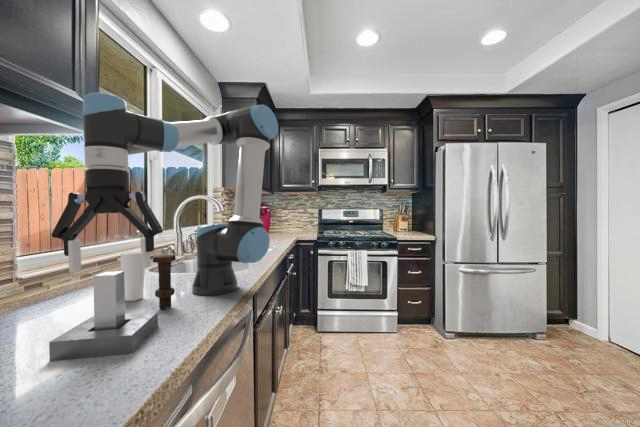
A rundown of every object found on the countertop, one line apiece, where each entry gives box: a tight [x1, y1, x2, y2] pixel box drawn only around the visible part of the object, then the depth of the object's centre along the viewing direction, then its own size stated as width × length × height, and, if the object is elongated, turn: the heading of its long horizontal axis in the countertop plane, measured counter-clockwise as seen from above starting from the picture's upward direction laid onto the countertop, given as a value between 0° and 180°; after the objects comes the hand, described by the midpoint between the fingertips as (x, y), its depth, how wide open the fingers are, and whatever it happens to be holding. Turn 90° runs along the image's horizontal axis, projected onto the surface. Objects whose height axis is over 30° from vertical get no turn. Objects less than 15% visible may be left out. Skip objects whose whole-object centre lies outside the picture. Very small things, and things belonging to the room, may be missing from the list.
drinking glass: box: [120, 250, 146, 302], centre depth 95 cm, size 7×7×15 cm
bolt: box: [152, 254, 177, 310], centre depth 86 cm, size 6×5×15 cm
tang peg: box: [93, 270, 126, 331], centre depth 63 cm, size 4×4×14 cm
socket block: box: [48, 311, 159, 362], centre depth 63 cm, size 14×14×4 cm
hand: (111, 269), depth 63 cm, fingers open, 13 cm apart
